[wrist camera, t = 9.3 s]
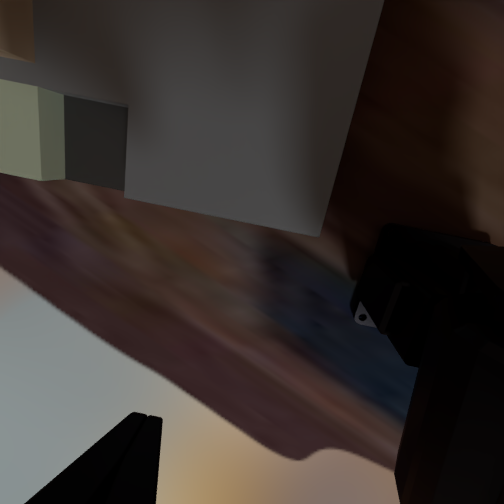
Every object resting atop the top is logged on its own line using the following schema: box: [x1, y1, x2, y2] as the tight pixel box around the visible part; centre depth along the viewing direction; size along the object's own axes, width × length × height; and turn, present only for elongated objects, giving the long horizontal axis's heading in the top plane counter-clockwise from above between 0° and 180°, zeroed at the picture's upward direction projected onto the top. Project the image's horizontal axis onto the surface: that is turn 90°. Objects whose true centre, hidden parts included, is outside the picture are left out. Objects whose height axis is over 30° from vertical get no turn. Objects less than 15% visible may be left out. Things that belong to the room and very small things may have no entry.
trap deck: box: [0, 0, 384, 237], centre depth 14 cm, size 20×15×2 cm
